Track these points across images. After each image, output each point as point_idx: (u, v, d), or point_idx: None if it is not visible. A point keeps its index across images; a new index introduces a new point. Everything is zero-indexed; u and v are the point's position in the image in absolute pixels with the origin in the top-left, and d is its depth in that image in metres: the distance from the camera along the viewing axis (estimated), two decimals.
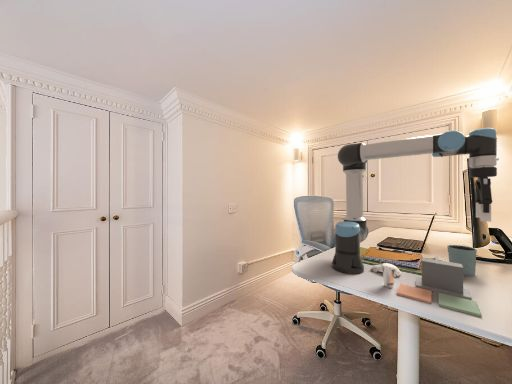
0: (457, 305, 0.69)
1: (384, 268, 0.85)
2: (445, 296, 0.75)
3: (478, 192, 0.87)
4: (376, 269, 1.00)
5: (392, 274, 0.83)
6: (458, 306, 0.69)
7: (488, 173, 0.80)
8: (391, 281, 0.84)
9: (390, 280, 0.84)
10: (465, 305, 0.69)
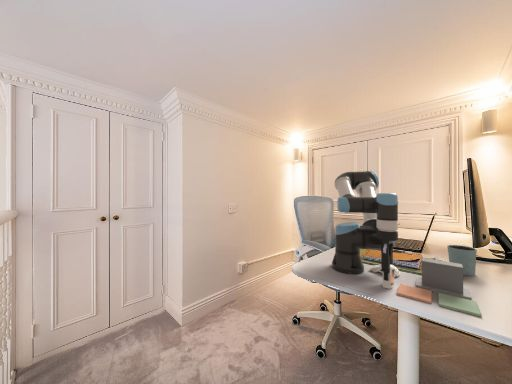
0: (457, 305, 0.69)
1: None
2: (445, 296, 0.75)
3: None
4: (375, 269, 1.00)
5: (392, 274, 0.83)
6: (458, 306, 0.69)
7: (389, 238, 0.82)
8: (391, 281, 0.84)
9: None
10: (465, 305, 0.69)
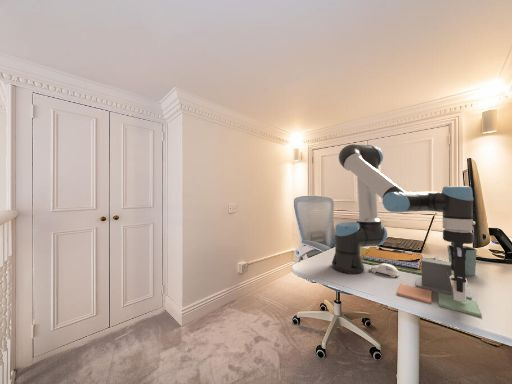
0: (457, 305, 0.69)
1: None
2: (445, 296, 0.75)
3: None
4: (375, 270, 1.00)
5: (465, 288, 0.70)
6: (458, 306, 0.69)
7: (463, 241, 0.68)
8: None
9: None
10: (465, 305, 0.69)
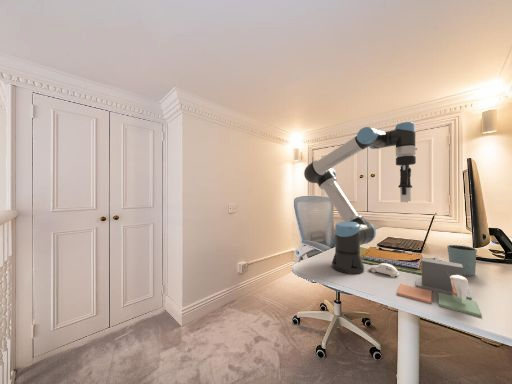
0: (457, 305, 0.69)
1: (454, 280, 0.71)
2: (445, 296, 0.75)
3: None
4: (374, 269, 1.00)
5: (465, 288, 0.69)
6: (458, 306, 0.69)
7: (408, 161, 0.92)
8: (463, 297, 0.70)
9: (463, 295, 0.70)
10: (465, 305, 0.69)
